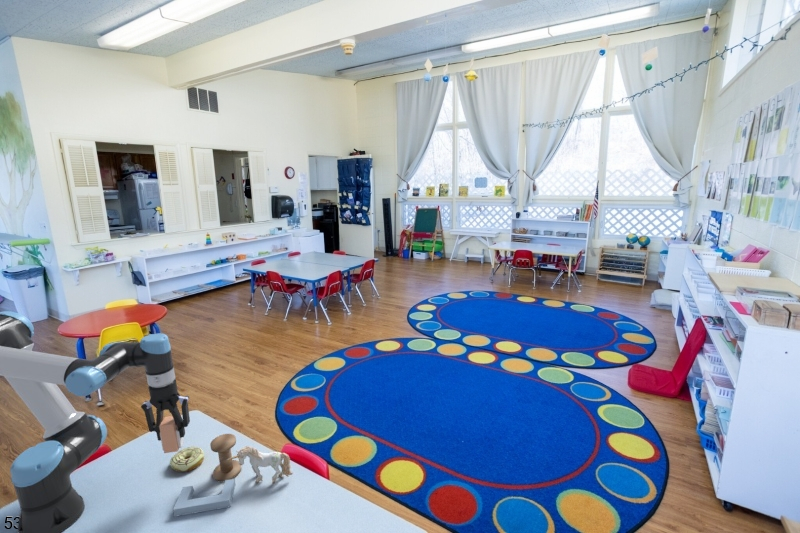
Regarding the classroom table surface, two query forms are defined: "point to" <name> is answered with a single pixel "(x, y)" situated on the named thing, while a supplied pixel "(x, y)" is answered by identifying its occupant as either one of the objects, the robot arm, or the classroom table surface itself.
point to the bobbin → (225, 458)
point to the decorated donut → (187, 459)
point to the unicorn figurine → (265, 461)
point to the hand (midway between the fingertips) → (173, 446)
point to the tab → (169, 435)
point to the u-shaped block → (204, 500)
